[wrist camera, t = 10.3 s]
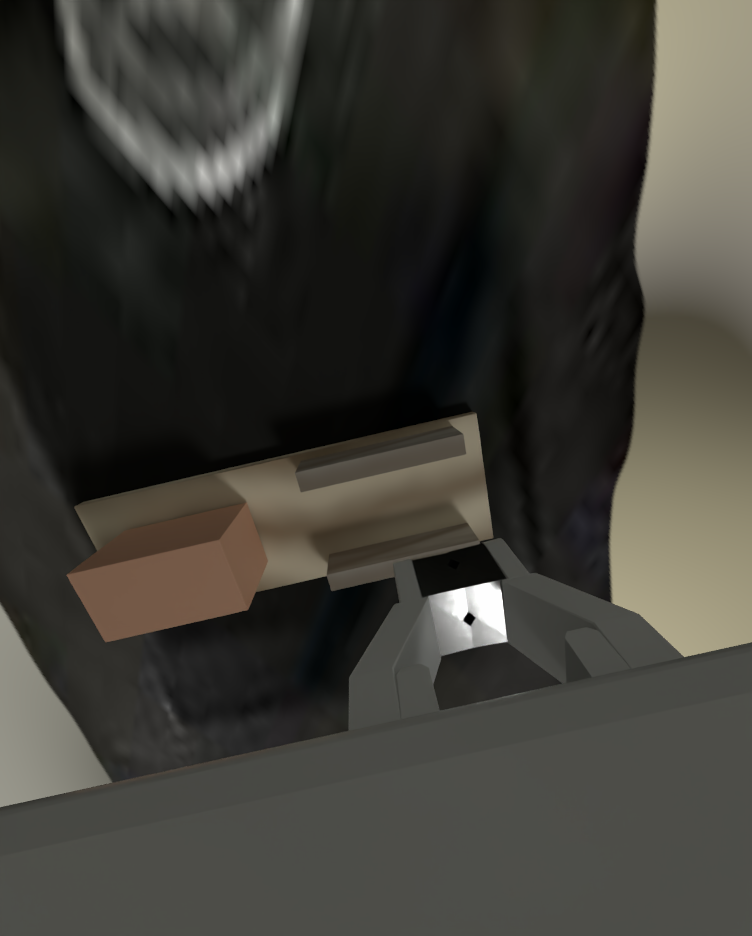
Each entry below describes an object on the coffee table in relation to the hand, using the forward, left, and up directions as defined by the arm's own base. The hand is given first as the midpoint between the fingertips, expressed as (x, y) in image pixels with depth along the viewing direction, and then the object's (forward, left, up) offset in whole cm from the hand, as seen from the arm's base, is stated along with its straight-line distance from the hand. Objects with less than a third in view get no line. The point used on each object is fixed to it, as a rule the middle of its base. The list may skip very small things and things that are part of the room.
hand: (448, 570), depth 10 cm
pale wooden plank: (+6, -9, -19) cm, 22 cm away
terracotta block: (+6, -17, -18) cm, 26 cm away
